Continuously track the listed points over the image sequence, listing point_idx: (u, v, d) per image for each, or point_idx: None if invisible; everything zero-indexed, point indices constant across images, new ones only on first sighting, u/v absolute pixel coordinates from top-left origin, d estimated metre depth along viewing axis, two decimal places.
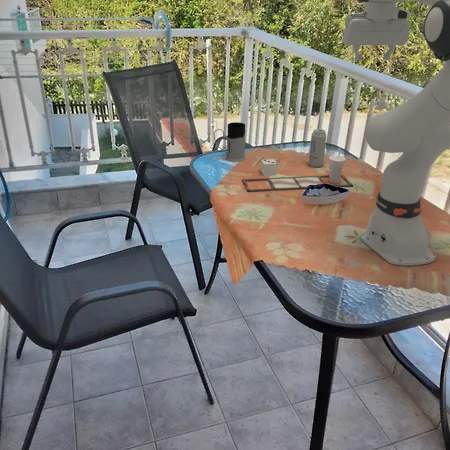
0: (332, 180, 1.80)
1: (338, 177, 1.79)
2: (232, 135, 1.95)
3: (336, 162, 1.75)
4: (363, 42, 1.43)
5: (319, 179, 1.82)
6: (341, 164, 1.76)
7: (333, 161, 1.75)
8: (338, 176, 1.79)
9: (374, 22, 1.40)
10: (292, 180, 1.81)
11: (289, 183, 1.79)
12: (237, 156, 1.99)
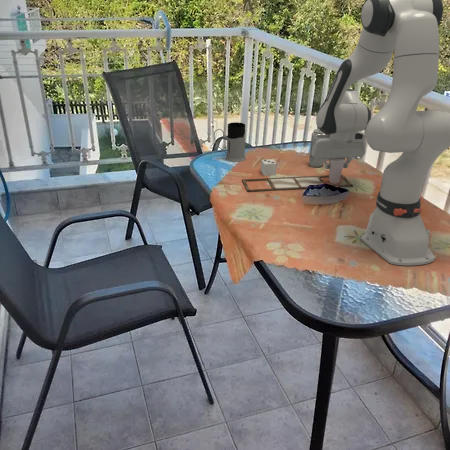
0: (332, 180, 1.80)
1: (338, 177, 1.79)
2: (232, 135, 1.95)
3: (336, 162, 1.75)
4: (327, 156, 1.74)
5: (319, 179, 1.82)
6: (341, 164, 1.76)
7: (333, 161, 1.75)
8: (338, 176, 1.79)
9: (336, 141, 1.72)
10: (292, 180, 1.81)
11: (289, 183, 1.79)
12: (237, 156, 1.99)
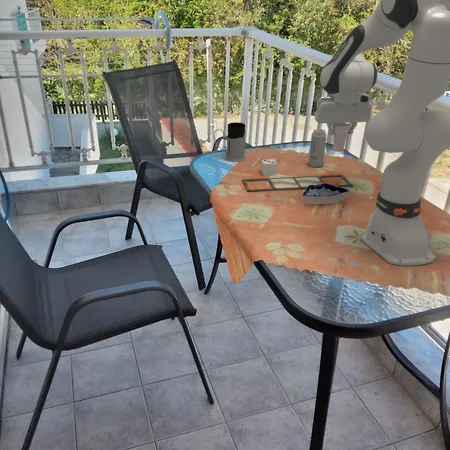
0: (336, 148, 1.73)
1: (342, 144, 1.73)
2: (232, 135, 1.95)
3: (340, 128, 1.69)
4: (332, 120, 1.68)
5: (319, 179, 1.82)
6: (345, 130, 1.70)
7: (337, 127, 1.69)
8: (342, 143, 1.72)
9: (341, 105, 1.65)
10: (292, 180, 1.81)
11: (289, 183, 1.79)
12: (237, 156, 1.99)
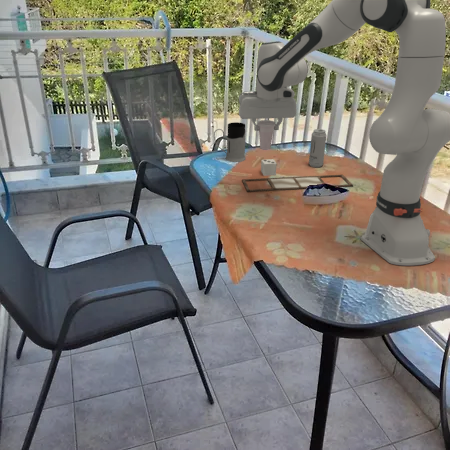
0: (262, 146, 1.70)
1: (268, 143, 1.69)
2: (232, 135, 1.95)
3: (264, 126, 1.65)
4: (255, 116, 1.63)
5: (319, 179, 1.82)
6: (270, 128, 1.65)
7: (261, 125, 1.65)
8: (268, 142, 1.68)
9: (263, 100, 1.61)
10: (292, 180, 1.81)
11: (289, 183, 1.79)
12: (237, 156, 1.99)
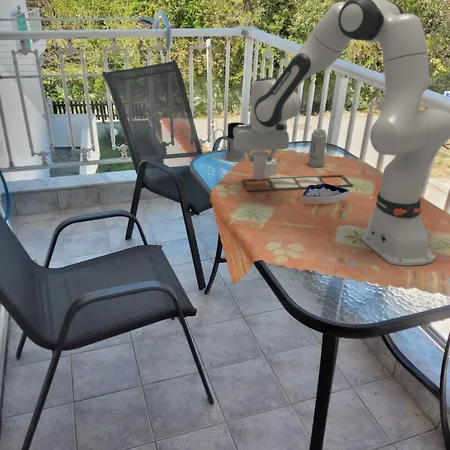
0: (256, 176, 1.75)
1: (262, 173, 1.74)
2: (232, 135, 1.95)
3: (257, 157, 1.70)
4: (249, 148, 1.68)
5: (319, 179, 1.82)
6: (263, 159, 1.70)
7: (255, 156, 1.70)
8: (261, 172, 1.73)
9: (257, 133, 1.66)
10: (292, 180, 1.81)
11: (289, 183, 1.79)
12: (237, 156, 1.99)
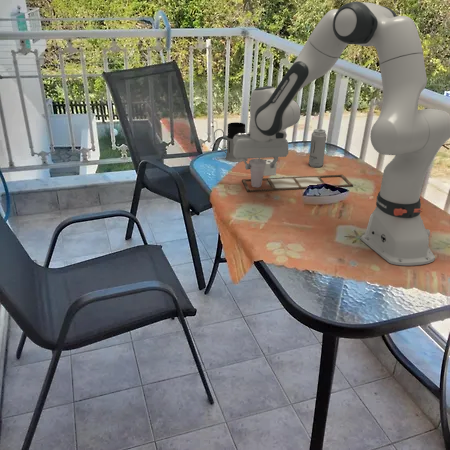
0: (253, 184, 1.76)
1: (259, 181, 1.75)
2: (232, 135, 1.95)
3: (255, 165, 1.71)
4: (249, 156, 1.70)
5: (319, 179, 1.82)
6: (260, 168, 1.72)
7: (252, 164, 1.71)
8: (259, 180, 1.75)
9: (257, 141, 1.67)
10: (292, 180, 1.81)
11: (289, 183, 1.79)
12: None
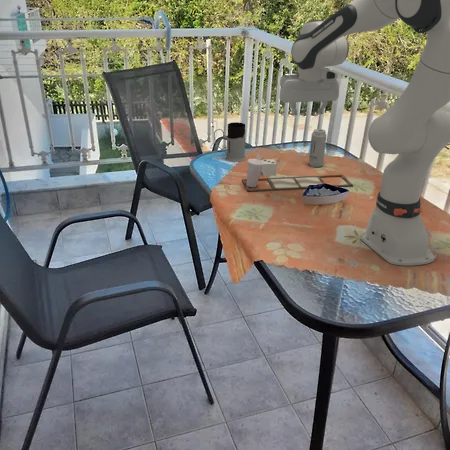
0: (248, 183, 1.75)
1: (255, 181, 1.74)
2: (232, 135, 1.95)
3: (253, 165, 1.71)
4: (297, 99, 1.57)
5: (319, 179, 1.82)
6: (258, 168, 1.71)
7: (250, 163, 1.71)
8: (255, 180, 1.74)
9: (306, 82, 1.55)
10: (292, 180, 1.81)
11: (289, 183, 1.79)
12: (237, 156, 1.99)
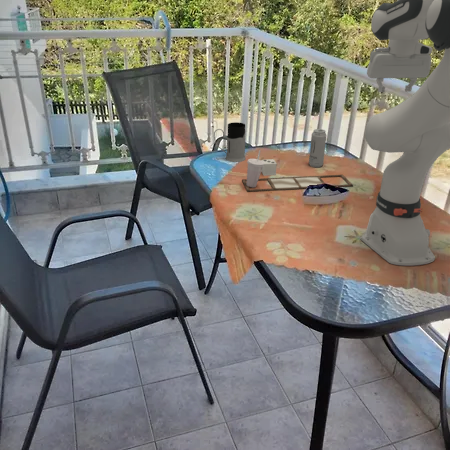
0: (248, 183, 1.75)
1: (255, 181, 1.74)
2: (232, 135, 1.95)
3: (253, 165, 1.71)
4: (387, 75, 1.50)
5: (319, 179, 1.82)
6: (258, 168, 1.71)
7: (250, 163, 1.71)
8: (255, 180, 1.74)
9: (398, 57, 1.47)
10: (292, 180, 1.81)
11: (289, 183, 1.79)
12: (237, 156, 1.99)
